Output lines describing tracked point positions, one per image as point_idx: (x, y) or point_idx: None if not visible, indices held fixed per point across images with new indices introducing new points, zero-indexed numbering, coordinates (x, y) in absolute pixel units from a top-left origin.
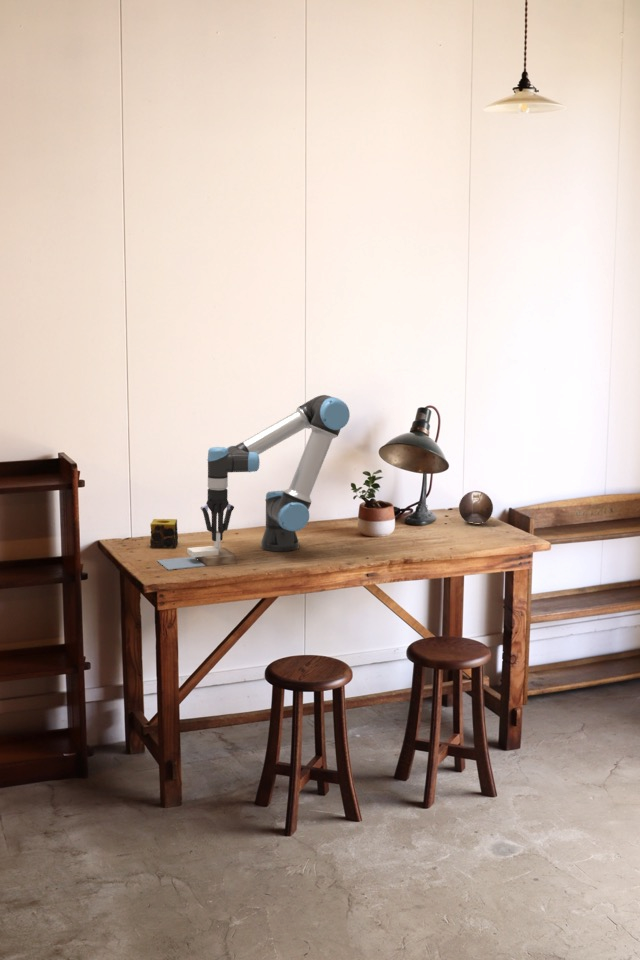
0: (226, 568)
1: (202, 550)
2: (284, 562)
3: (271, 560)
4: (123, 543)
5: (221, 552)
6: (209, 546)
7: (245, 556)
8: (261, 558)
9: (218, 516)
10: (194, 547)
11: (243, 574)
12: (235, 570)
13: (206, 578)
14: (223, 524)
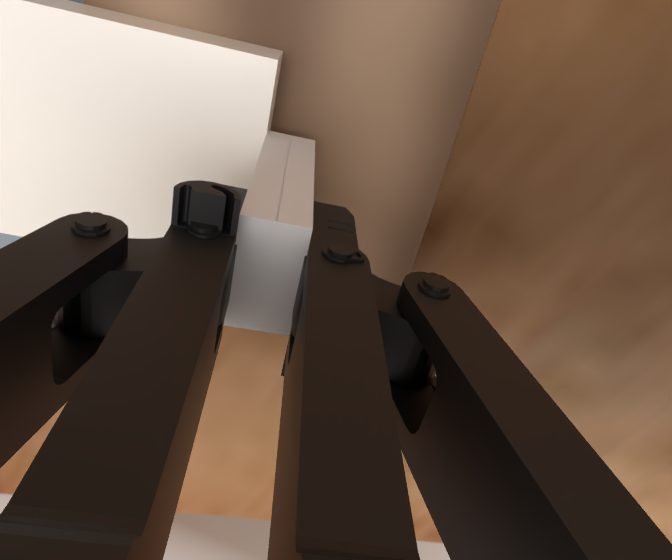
0: (232, 377)
1: (61, 205)
2: (656, 444)
3: (640, 371)
4: None
5: (332, 181)
6: (225, 74)
7: (597, 165)
8: (638, 292)
9: (289, 512)
10: (1, 2)
11: (259, 513)
12: (262, 438)
13: (9, 482)
14: (425, 348)
